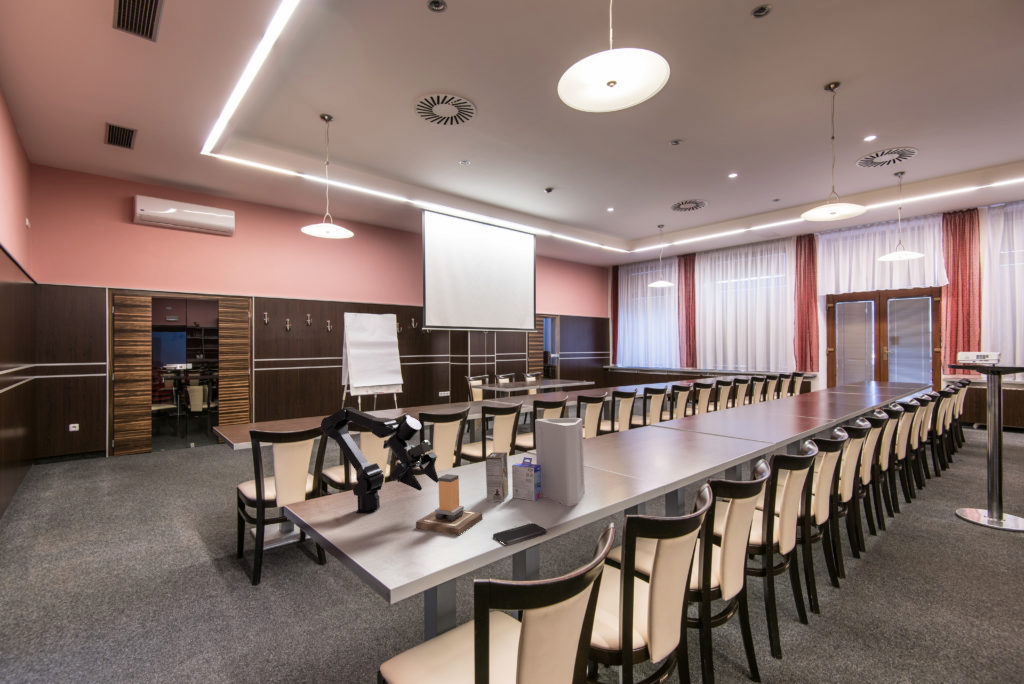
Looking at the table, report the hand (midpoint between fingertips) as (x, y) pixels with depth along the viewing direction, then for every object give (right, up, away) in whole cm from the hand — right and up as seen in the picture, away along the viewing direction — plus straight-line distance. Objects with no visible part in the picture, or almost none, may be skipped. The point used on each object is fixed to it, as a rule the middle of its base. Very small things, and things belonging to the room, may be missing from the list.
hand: (429, 485), depth 148 cm
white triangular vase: (+48, -10, +21) cm, 53 cm away
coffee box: (+22, -11, +20) cm, 32 cm away
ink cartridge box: (+33, -11, +20) cm, 40 cm away
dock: (+7, -11, -4) cm, 14 cm away
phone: (+29, -11, -14) cm, 34 cm away
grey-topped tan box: (+7, -9, -4) cm, 12 cm away
